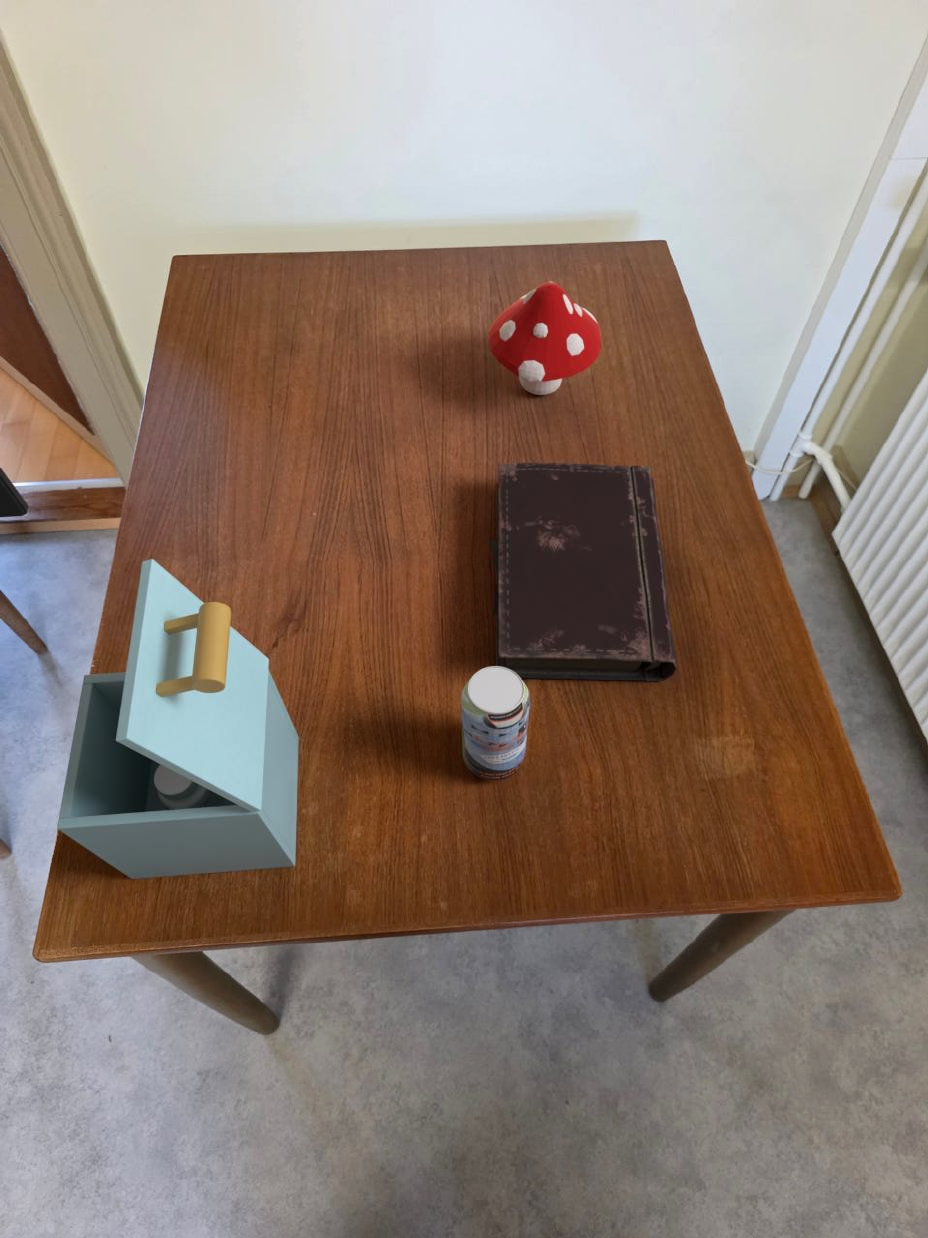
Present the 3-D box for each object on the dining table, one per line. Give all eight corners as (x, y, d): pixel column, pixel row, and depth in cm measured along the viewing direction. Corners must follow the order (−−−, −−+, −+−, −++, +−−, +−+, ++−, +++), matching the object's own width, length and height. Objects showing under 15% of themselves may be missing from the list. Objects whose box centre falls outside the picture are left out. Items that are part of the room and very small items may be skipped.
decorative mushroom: (564, 336, 109) (578, 234, 97) (615, 404, 103) (637, 304, 90) (469, 366, 106) (470, 265, 94) (515, 438, 100) (524, 339, 87)
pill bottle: (168, 795, 76) (140, 765, 69) (213, 773, 77) (190, 742, 70) (183, 836, 74) (156, 810, 67) (229, 813, 75) (207, 786, 68)
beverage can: (471, 793, 77) (473, 745, 67) (451, 723, 81) (450, 668, 70) (534, 776, 78) (546, 726, 68) (512, 708, 81) (519, 651, 71)
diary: (647, 492, 96) (656, 463, 91) (670, 683, 83) (682, 660, 79) (489, 489, 96) (491, 460, 92) (488, 679, 83) (490, 656, 79)
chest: (131, 879, 73) (56, 828, 59) (148, 747, 79) (83, 674, 66) (295, 866, 73) (258, 813, 60) (298, 737, 80) (265, 662, 66)
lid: (115, 741, 47) (196, 723, 46) (142, 561, 53) (213, 541, 52) (251, 812, 60) (317, 800, 58) (260, 660, 66) (320, 647, 65)
